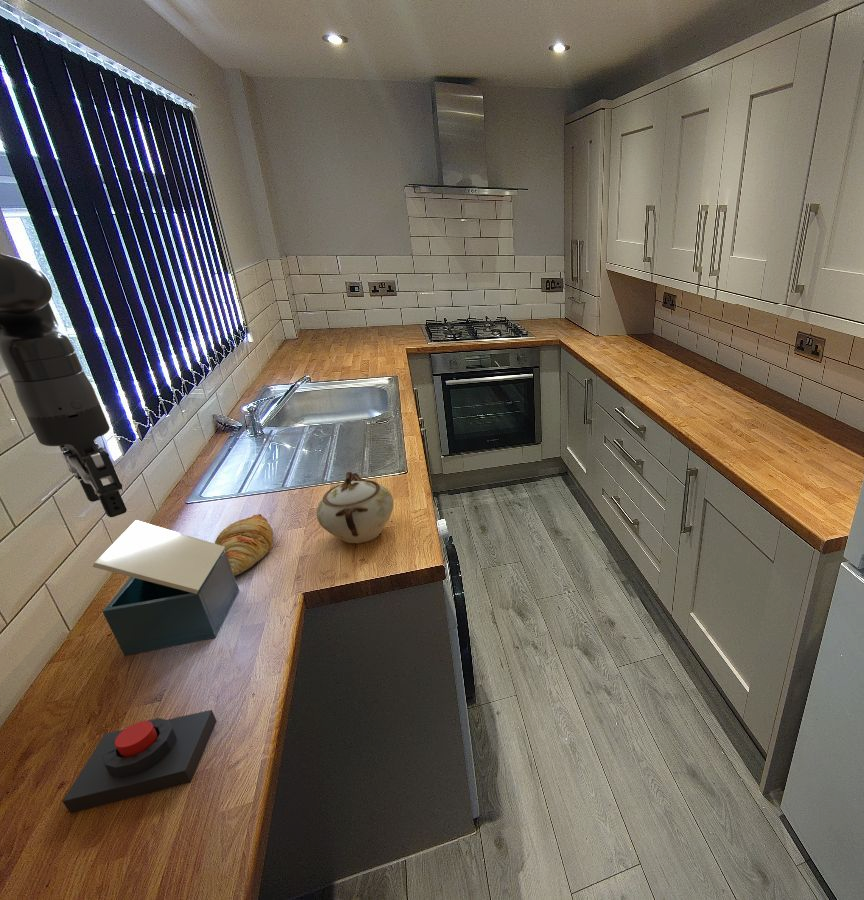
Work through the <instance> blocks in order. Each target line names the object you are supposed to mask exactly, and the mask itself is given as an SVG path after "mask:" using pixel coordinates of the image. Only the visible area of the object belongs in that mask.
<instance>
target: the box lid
mask: <svg viewBox="0 0 864 900" xmlns="http://www.w3.org/2000/svg"><path fill="white" fill-rule="evenodd" d="M214 543H215V542H210V541H207V540H204V539H200V538H198V537H194V536H191V535H189V534H184V533H181V532H178V531H175V530H171V529H167V528H165V527H161V526H158V525H154V524H151V523H148V522H144V521H142V520H138V519H135V520H134V521H133V522H132V523H131V524H130V525H129V526H128V527H127V529H125V531H123V532H122V533H121V534H120V535H119V536H118V537H117V539H115V540H114V542H113V543H112V544H111V545H110V546H109V547H108V548H107V549H106V550H105V551H104V552H103V553H101V555H100V556H99V557H98V558H97V559H96V560H95V561H94V562H93V564H92V568H96V569H100V570H104V571H107V572H110V573H114V574H117V575H122V576H126V577H129V578H130V577H133V578H137V579H141V580H145V581H149V582H153V583H156V584H160V585H164V586H168V587H172V588H176V589H179V590H183V591H187V592H191V593H195V594H197V593H198V591H199V589H200V588H201V586H202V584H203V583H204V581H205V580H206V578H207V576H208V575H209V573H210V571H211V570H212V568H213V567H214V565H215V563H216V562H217V560H218V558H219V557H220V555H221V554H222V552H223V550H224V548H225V547H224V546H221V545H217V544H214Z"/></svg>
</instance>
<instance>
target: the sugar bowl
mask: <svg viewBox="0 0 864 900" xmlns="http://www.w3.org/2000/svg"><path fill="white" fill-rule="evenodd" d="M393 509H394V498H393V496H392V494H391V492H390V491H389V490H388V488H386V487H385V486H384V485H382V484H380V483H378V482H377V481H374V480H370V479H363V478H361V477H360V475H359V473H357V472H352V471H348V472H346V474H345V480H344V481H343V483H341V484H338V485H335V486H334V487H333V486H332V487H331V488H330V489H328V491H326V492H325V493H324V494H323V496H322V498H321V499H320V501H319V502H318V505H317V507H316V519H317V522H318V523H319V525H320V527H322V529H323V530H325V531H326V532H328V533H329V534H331V535H333V537H336V538H338V539H340V540H341V541H342V542H344V543H346V544H351V543H356V544H363V543H367V542H370V541H373V540H375V539H376V538H377V537H378V536H380V535H381V534H382V532H383V530H384V528H385V526H386V525H387V523H388V521H389V519H390V518H391V515H392V512H393V511H394V510H393ZM380 533H381V534H380ZM379 534H380V535H379ZM362 542H363V543H362Z"/></svg>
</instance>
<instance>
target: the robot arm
mask: <svg viewBox="0 0 864 900" xmlns="http://www.w3.org/2000/svg"><path fill="white" fill-rule="evenodd" d="M52 297H53V287H52V284H51V281H50V280H49V278H48V276H47V275H46V274H45V273H44V272H43V271H42V270H41V269H40V268H39V267H37V266H36V265H34V264H32V263H31V262H28V261H26V260H24V259H22V258H19V257H15V256H13V255H12V256H11V255H8V254H4V253H0V358H1V360H2V362H3V364H4V366H5V368H6V370H7V373H8V374H9V376H10V379H11V380H12V383H13V386H14V389H15V394H16V397H17V399H18V402H19V403H20V405H21V407H22V410H23V413H24V414H25V415H26V418H27V420H28V422H29V424H30V426H31V429H32V430H33V432H34V434H35V437H36V439H37V441H38V443H40V445H43V446H46V447H59V449H60V452H61V456H62V458H63V459H64V461H65V462H66V466H67V468H68V471H69V472H71V474H73V477H74V478H75V479H76V480H77V481H79V484H80V485H81V488H82V490H83V492H84V494H85V496H86V500H88V501H89V502H91V503H94V502H95V503H96V502H97V501H100V504H101V507H102V508H103V510H104V512H105V515H106V516H107V517H108V518H115V517H118V516H120V515H124V514H125V513H127V511H128V509H127V507H126V505H125V502H124V500H123V498H122V495H121V493H120V490H123V484H122V482H121V481H120V479H119V477H118V474H117V472H116V469H115V468H114V465H113V463H112V461H111V458H110V457H109V456H110V454H109V452H107V451H106V450H105V448H104V447H103V446H100V445H99V444H98V443H97V442H95V440H96V439H98V438H99V437H103V436H104V435H106V434H107V433H108V432H109V431H110V429H111V428H110V425H109V422H108V420H107V417H106V415H105V413H104V409H103V408H102V406H101V403H100V401H99V398H98V396H97V394H96V391H95V389H94V387H93V384H92V383H91V380H90V379H89V378H88V376H87V375H86V373H85V371H84V370H83V366H82V364H81V362H80V359H79V356H78V355H77V353H76V350H75V347H74V345H73V344H72V342H71V340H70V338H69V337H68V336H67V334H66V333H65V332H64V331H63V330H62V329H61V327H60V325H59V323H58V321H57V318H56V316H55V313H54V311H53V308H52V306H51V304H50V301H51V300H52ZM105 479H106V480H108V482H109V483H108V484H105V485H104V484H103V481H102V480H105Z"/></svg>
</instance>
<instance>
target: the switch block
mask: <svg viewBox="0 0 864 900" xmlns="http://www.w3.org/2000/svg"><path fill="white" fill-rule="evenodd" d="M146 721H149V722H151V723H152V724H153V726H154V728H155V730H156V732H157V739H156V741H155V742H154V743H153V744H152V745H151V746H150V747H149V748H148V749H146V750H144V751H142V752H141V753H139V754H137V755H135V756H131V757H123V756H121V755H120V753H119V751H118V749H117V747H116V746H115V739H116V738H117V736H118V735H119V734H120V733H121V732H122V731H123V730H124V729H121V730H116V731H111V732H108V733H104V734H103V736H102V737H101V739H100V740H99V742H98V744H97V745H96V747H95V749H94V750H93V752H92V753H91V755H90V757H89V758H88V760H87V761H86V763H85V765H84V766H83V768H82V769H81V771H80V772H79V774H78V775H77V776H76V779H75V780H74V782H73V784H72V785H71V787H70V789H69V790H68V791H67V793H66V795H65V796H64V798H63V799H62V803H63V805H64V806H65V808H66V809H67V811H68V812H69V814H73V813H78V812H81V811H85V810H89V809H93V808H97V807H101V806H105V805H108V804H109V805H110V804H113V803H116V802H120V801H123V800H124V801H125V800H128V799H132V798H136V797H140V796H143V795H148V794H152V793H156V792H159V791H164V790H167V789H170V788H171V789H172V788H175V787H179V786H183V785H187V784H190V783H192V781H193V779H194V776H195V773H196V771H197V769H198V767H199V764H200V761H201V759H202V757H203V755H204V752H205V751H206V750H205V749H206V747H207V745H208V742H209V741H210V737H211V735H212V733H213V732H214V731H213V730H214V728H215V726H216V723H217V719H216V717H215V714H214V711H213V710H212V709H209V710H204V711H200V712H196V713H195V712H194V713H192V714H191V713H190V714H187V715H183V716H177V717H174V718H169V719H164V718H159V717H157V718H153V719H152V718H151V719H148V720H146Z"/></svg>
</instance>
